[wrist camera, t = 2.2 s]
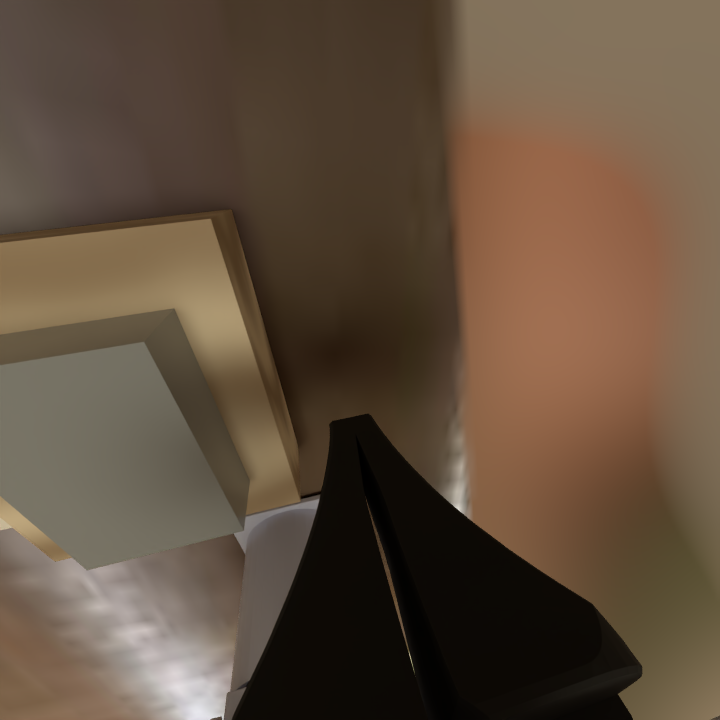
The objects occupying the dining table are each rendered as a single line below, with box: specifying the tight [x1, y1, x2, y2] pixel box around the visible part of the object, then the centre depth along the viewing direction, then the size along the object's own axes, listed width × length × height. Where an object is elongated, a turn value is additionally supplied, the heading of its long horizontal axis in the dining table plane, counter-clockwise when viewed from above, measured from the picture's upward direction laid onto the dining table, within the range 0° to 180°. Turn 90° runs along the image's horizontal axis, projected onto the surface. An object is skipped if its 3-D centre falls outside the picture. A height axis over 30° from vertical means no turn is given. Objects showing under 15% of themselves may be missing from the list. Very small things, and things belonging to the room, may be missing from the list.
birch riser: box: [0, 209, 301, 562], centre depth 13 cm, size 14×12×4 cm
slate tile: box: [0, 308, 250, 570], centre depth 11 cm, size 9×6×2 cm, turn 5°
